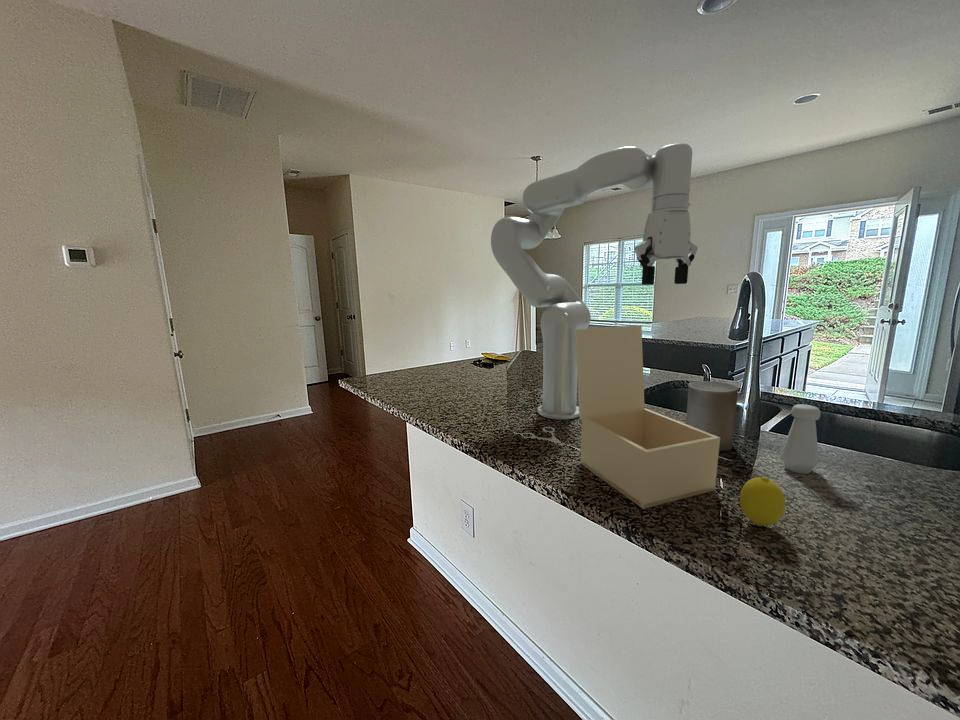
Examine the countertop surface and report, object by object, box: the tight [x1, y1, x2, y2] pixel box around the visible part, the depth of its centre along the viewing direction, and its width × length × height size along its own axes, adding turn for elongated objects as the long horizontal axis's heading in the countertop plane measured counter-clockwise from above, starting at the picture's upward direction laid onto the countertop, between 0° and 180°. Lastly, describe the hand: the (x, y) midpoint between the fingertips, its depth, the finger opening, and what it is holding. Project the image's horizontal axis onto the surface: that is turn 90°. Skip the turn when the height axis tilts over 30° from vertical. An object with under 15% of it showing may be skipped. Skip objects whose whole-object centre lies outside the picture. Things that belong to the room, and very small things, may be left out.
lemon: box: [739, 476, 786, 527], centre depth 59 cm, size 6×6×8 cm
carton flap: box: [575, 324, 646, 419], centre depth 85 cm, size 18×16×8 cm
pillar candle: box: [685, 380, 739, 452], centre depth 89 cm, size 10×10×15 cm
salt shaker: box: [780, 403, 822, 475], centre depth 76 cm, size 6×6×13 cm
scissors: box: [513, 426, 581, 457], centre depth 93 cm, size 11×1×20 cm
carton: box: [580, 407, 720, 510], centre depth 74 cm, size 18×16×10 cm
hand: (664, 284), depth 91 cm, fingers open, 9 cm apart
